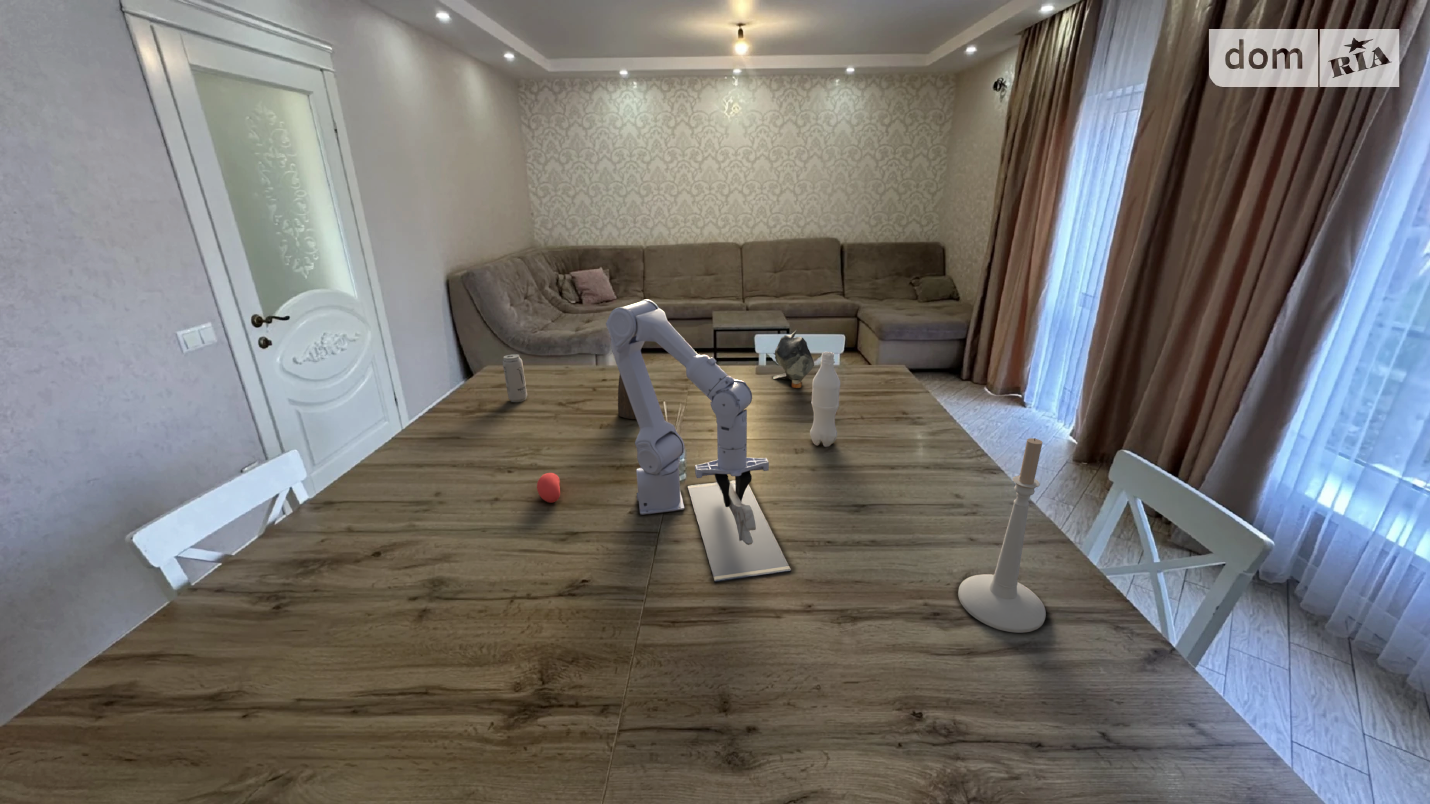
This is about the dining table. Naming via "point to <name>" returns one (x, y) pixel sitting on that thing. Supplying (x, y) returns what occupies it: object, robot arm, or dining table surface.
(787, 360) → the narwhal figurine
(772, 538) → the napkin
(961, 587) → the candlestick
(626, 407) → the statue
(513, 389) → the energy drink can
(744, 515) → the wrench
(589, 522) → the dining table surface
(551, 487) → the stress ball
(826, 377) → the water bottle
